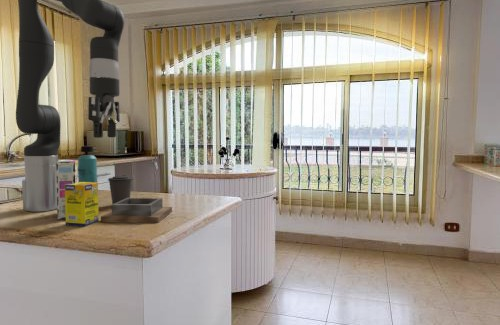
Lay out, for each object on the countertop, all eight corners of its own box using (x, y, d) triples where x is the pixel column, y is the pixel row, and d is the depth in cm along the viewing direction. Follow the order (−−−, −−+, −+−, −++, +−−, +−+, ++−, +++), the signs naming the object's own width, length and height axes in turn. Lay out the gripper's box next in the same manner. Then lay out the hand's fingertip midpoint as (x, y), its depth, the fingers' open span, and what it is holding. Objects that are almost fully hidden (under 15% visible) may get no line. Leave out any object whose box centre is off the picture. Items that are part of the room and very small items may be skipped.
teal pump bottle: (85, 198, 129) (83, 145, 128) (102, 199, 128) (100, 145, 127) (74, 202, 123) (72, 146, 121) (91, 202, 122) (90, 146, 120)
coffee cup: (133, 202, 123) (133, 174, 122) (133, 206, 115) (132, 177, 115) (109, 203, 120) (108, 175, 120) (107, 208, 113) (106, 177, 112)
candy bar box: (77, 218, 98) (75, 161, 97) (57, 220, 96) (55, 161, 95) (79, 211, 108) (77, 158, 107) (61, 212, 106) (59, 159, 105)
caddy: (100, 221, 95) (100, 205, 94) (121, 210, 109) (121, 196, 108) (158, 222, 94) (158, 206, 94) (171, 211, 108) (171, 197, 108)
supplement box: (85, 226, 89) (84, 185, 89) (65, 225, 91) (63, 184, 90) (99, 221, 95) (98, 182, 94) (80, 220, 96) (79, 181, 96)
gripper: (102, 81, 101) (103, 137, 102) (77, 72, 87) (78, 137, 88) (128, 82, 101) (128, 137, 102) (107, 73, 87) (107, 138, 88)
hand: (105, 137), depth 95 cm, fingers open, 8 cm apart
